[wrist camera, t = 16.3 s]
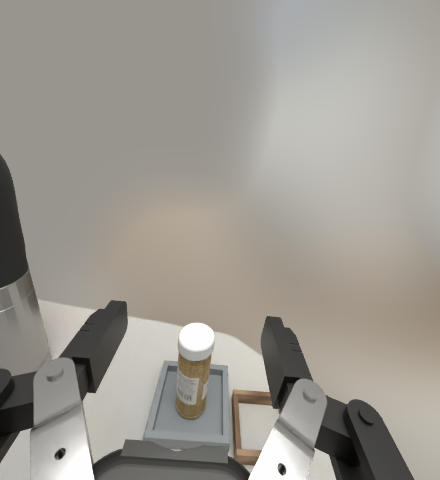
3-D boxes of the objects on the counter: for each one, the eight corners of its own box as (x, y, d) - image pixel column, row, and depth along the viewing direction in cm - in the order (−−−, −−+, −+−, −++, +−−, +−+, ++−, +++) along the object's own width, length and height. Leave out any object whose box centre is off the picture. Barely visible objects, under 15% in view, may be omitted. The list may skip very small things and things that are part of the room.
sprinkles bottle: (212, 406, 33) (222, 337, 28) (186, 428, 30) (192, 357, 25) (194, 381, 36) (200, 316, 31) (168, 400, 33) (171, 331, 28)
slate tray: (144, 446, 28) (143, 437, 27) (164, 368, 38) (164, 360, 37) (227, 452, 28) (229, 443, 28) (226, 373, 38) (227, 365, 37)
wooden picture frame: (234, 463, 27) (236, 455, 27) (231, 398, 35) (233, 389, 34) (296, 468, 28) (300, 459, 27) (281, 401, 35) (283, 393, 34)
